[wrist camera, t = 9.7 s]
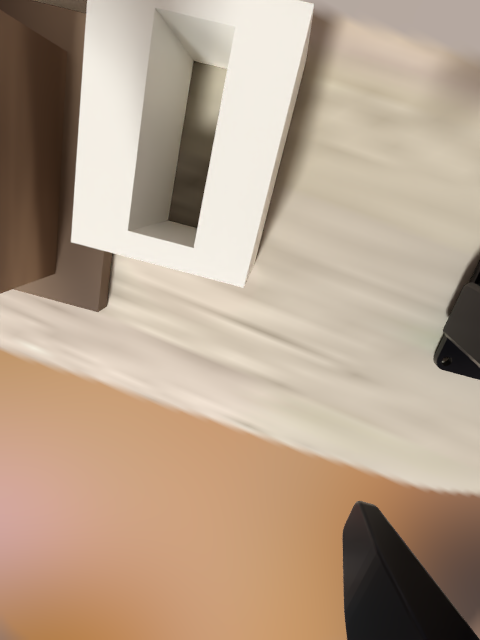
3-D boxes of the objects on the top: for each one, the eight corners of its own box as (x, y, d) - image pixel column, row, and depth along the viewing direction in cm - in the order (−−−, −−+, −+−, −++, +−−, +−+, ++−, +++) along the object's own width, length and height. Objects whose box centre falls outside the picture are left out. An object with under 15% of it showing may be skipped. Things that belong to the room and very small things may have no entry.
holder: (306, 60, 15) (314, 3, 11) (254, 263, 19) (243, 287, 14) (149, 22, 16) (90, -50, 11) (124, 229, 19) (70, 241, 14)
